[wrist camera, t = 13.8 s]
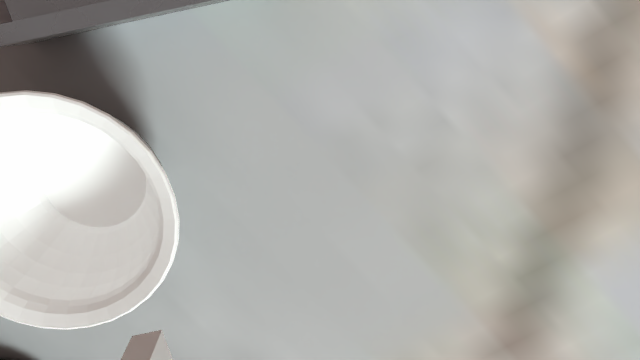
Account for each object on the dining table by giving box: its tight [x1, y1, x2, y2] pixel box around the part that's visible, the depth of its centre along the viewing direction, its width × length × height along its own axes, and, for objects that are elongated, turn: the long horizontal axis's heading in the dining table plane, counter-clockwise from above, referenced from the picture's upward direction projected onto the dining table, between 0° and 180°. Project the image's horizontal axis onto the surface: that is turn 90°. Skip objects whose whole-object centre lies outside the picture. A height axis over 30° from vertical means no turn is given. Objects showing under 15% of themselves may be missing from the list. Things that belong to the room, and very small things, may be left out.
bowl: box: [0, 90, 179, 330], centre depth 34 cm, size 16×16×8 cm
